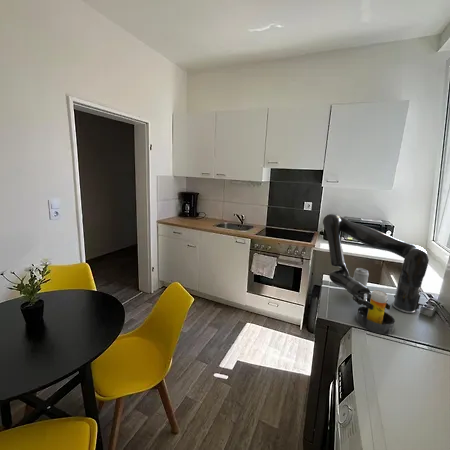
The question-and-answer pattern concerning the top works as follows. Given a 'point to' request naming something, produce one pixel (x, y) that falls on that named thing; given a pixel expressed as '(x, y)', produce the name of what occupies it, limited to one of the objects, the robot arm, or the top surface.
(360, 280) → the can
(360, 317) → the dark grey bowl
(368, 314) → the beer can
